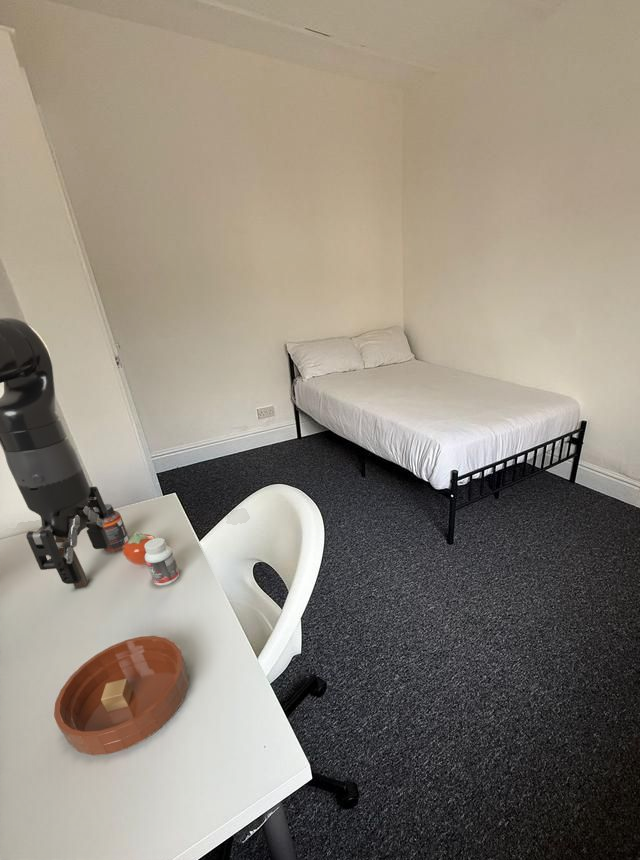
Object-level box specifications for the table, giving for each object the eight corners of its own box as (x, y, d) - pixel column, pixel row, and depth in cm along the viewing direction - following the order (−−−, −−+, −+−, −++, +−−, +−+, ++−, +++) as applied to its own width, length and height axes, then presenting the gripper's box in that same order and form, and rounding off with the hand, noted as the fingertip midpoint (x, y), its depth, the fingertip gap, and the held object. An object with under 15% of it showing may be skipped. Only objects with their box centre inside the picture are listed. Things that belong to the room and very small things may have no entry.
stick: (75, 589, 91) (50, 536, 85) (78, 583, 93) (53, 531, 87) (85, 586, 92) (61, 534, 86) (88, 581, 94) (64, 529, 87)
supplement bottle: (136, 542, 107) (121, 504, 102) (114, 555, 102) (98, 516, 97) (120, 537, 109) (106, 499, 104) (98, 549, 104) (82, 511, 99)
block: (107, 712, 65) (100, 700, 63) (112, 695, 67) (106, 683, 66) (128, 706, 65) (122, 694, 64) (132, 690, 68) (126, 678, 67)
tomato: (131, 554, 102) (121, 527, 98) (164, 548, 104) (155, 521, 100) (124, 573, 96) (113, 545, 92) (159, 566, 98) (149, 538, 94)
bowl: (48, 774, 57) (33, 753, 55) (87, 671, 72) (76, 651, 70) (183, 734, 62) (174, 713, 59) (194, 645, 77) (187, 625, 74)
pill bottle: (148, 586, 92) (134, 550, 87) (162, 570, 96) (149, 535, 92) (171, 586, 91) (159, 550, 87) (184, 570, 96) (173, 535, 91)
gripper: (50, 453, 64) (87, 539, 72) (-18, 498, 51) (34, 598, 59) (102, 450, 65) (132, 536, 72) (46, 494, 52) (90, 593, 60)
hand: (88, 563), depth 66 cm, fingers open, 8 cm apart
